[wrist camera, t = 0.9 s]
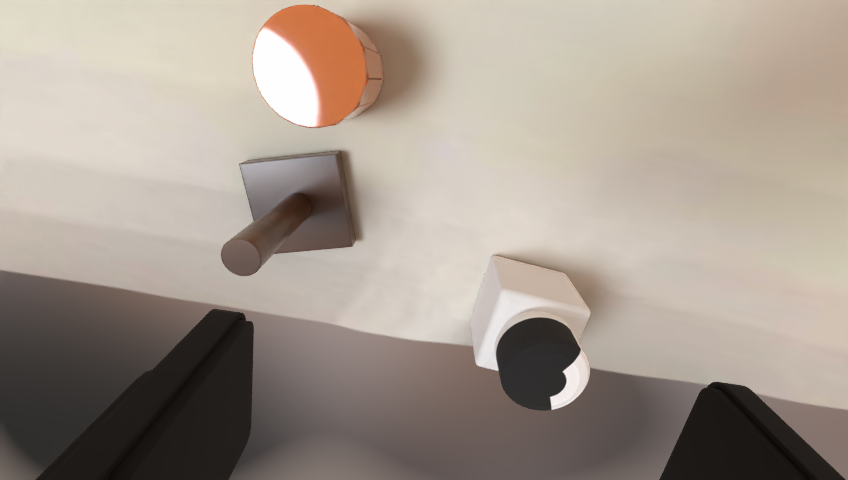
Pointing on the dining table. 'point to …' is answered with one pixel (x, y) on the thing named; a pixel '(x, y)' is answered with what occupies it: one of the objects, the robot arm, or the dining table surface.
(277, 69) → the cup
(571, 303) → the medicine bottle
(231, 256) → the stand
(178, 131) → the dining table surface
